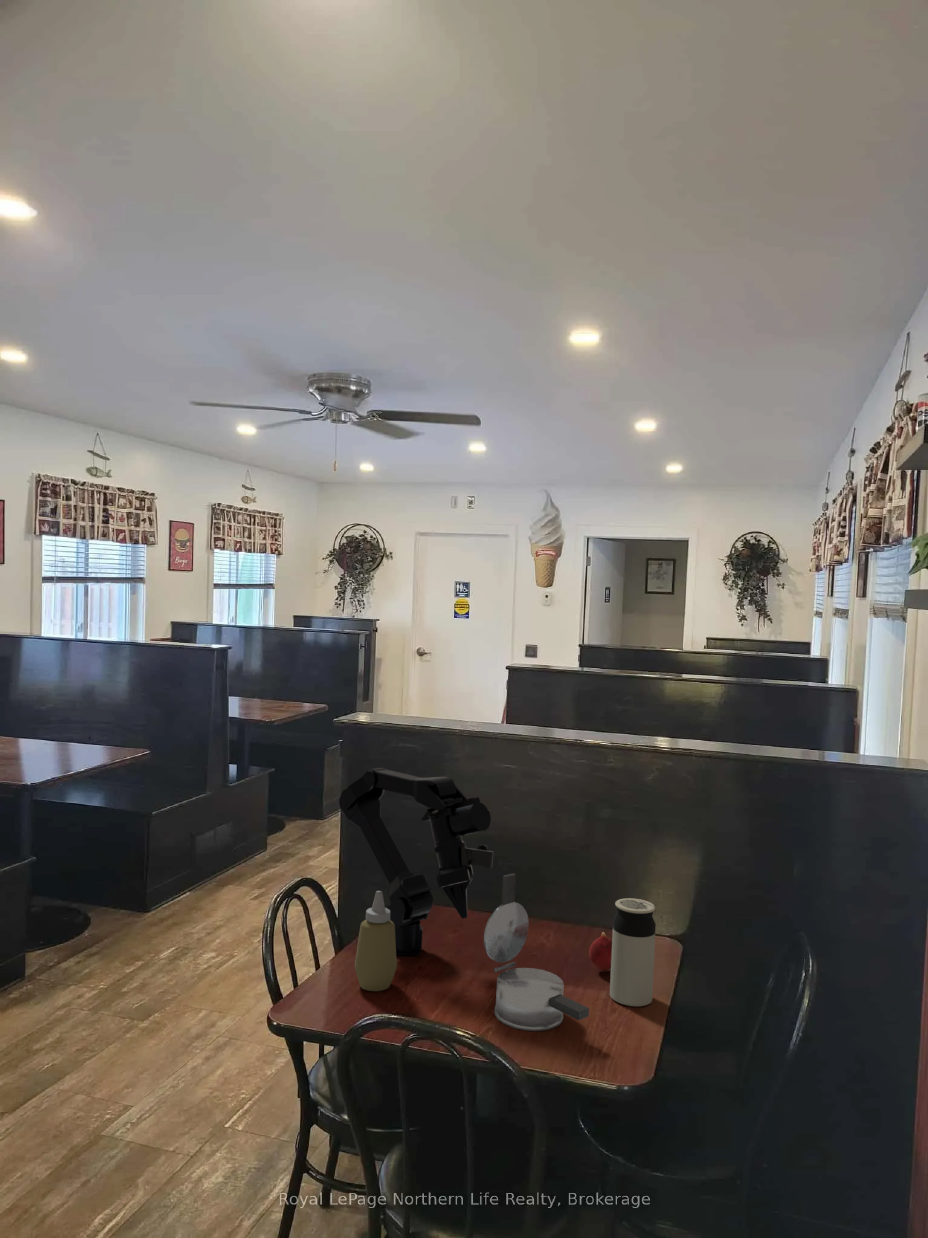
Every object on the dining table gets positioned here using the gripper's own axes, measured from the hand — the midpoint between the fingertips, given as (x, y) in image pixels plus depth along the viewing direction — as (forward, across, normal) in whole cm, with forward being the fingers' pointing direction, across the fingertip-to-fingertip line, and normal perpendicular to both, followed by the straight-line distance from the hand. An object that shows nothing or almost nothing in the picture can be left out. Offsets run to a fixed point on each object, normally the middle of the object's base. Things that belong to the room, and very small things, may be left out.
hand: (464, 918), depth 170 cm
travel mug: (+21, -2, -28) cm, 35 cm away
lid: (+1, -11, -9) cm, 14 cm away
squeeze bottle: (+8, -5, +19) cm, 21 cm away
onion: (+17, +9, -25) cm, 31 cm away
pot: (+19, -14, -11) cm, 26 cm away
